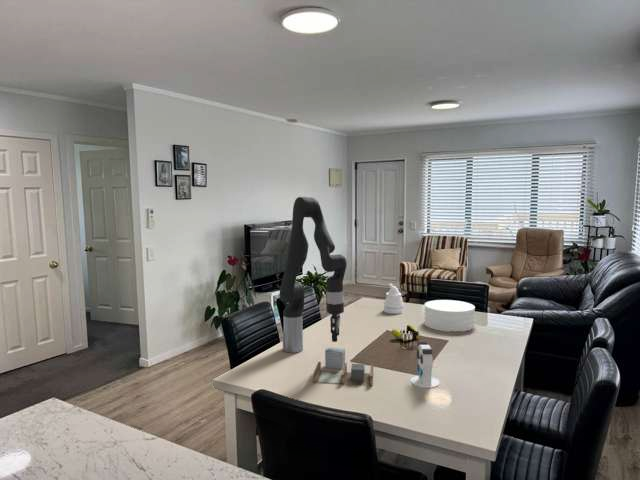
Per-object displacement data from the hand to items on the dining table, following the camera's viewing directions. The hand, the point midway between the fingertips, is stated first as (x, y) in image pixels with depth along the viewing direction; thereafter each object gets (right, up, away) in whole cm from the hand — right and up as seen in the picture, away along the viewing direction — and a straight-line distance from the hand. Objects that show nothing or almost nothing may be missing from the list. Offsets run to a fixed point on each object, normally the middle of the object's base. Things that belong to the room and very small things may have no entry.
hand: (335, 338), depth 185 cm
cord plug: (+9, -13, -11) cm, 19 cm away
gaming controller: (+39, -10, +41) cm, 57 cm away
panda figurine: (+35, -15, -13) cm, 40 cm away
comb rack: (+3, -15, -11) cm, 19 cm away
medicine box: (0, -14, +1) cm, 14 cm away
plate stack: (+68, -7, +66) cm, 95 cm away
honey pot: (+42, -5, +97) cm, 105 cm away
